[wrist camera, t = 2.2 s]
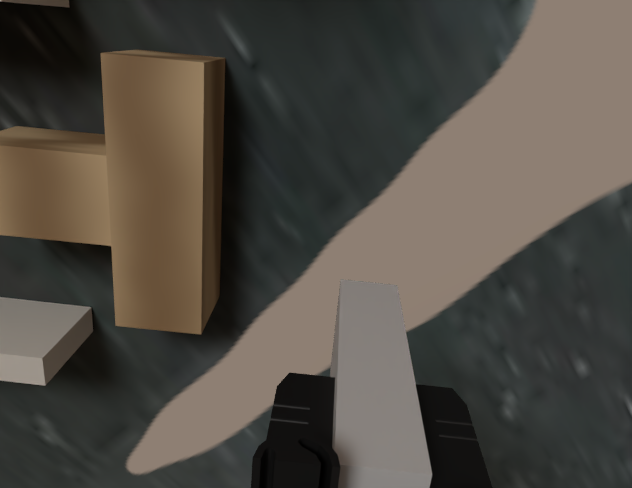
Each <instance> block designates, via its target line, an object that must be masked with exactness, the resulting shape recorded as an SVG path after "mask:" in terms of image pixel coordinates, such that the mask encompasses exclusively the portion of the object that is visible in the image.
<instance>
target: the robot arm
mask: <svg viewBox="0 0 632 488" xmlns="http://www.w3.org/2000/svg"><path fill="white" fill-rule="evenodd" d="M251 488H492V485H491V482H490V479H489V476H488V473H487V469H486V466H485V463H484V460H483V456H482V453H481V450H480V447H479V444H478V442H477V437H476V434H475V431H474V427H473V426H472V421H471V418H470V415H469V411H468V408H467V405H466V404H465V403H464V401H463V400H462V399H461V398H460V397H459V396H458V395H457V393H456V392H455V391H454V390H453V389H452V388H444V387H435V386H426V385H416V384H415V379H414V373H413V368H412V362H411V357H410V352H409V346H408V341H407V335H406V330H405V325H404V319H403V314H402V308H401V303H400V298H399V293H398V287H397V285H391V284H381V283H371V282H362V281H352V280H341V281H340V291H339V299H338V308H337V316H336V325H335V335H334V343H333V352H332V361H331V372H330V377H326V376H316V375H307V374H297V373H289V374H288V375H287V376H286V377H285V378H284V379H283V381H281V383H280V384H279V385H278V386H277V389H276V394H275V399H274V405H273V409H272V414H271V421H270V424H269V429H268V434H267V439H266V441H264V442H263V443H262V444H261V445H259V446H258V448H257V450H256V452H255V454H254V456H253V463H252V481H251Z"/></svg>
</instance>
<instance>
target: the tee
mask: <svg viewBox="0 0 632 488" xmlns="http://www.w3.org/2000/svg"><path fill="white" fill-rule="evenodd" d="M101 69H102V87H103V105H104V123H105V135H104V134H93V133H83V132H73V131H62V130H52V129H42V128H31V127H21V126H15V127H12V128H9V129H5V130H2V131H0V235H7V236H17V237H27V238H37V239H47V240H57V241H67V242H77V243H87V244H97V245H107V246H111V249H112V267H113V285H114V304H115V322H116V326H123V327H133V328H143V329H153V330H162V331H172V332H182V333H192V334H202V332H203V330H204V328H205V325H206V323H207V321H208V319H209V317H210V315H211V313H212V311H213V309H214V307H215V305H216V302H217V300H218V298H219V296H220V258H221V216H222V175H223V133H224V91H225V58H220V57H209V56H199V55H188V54H178V53H167V52H157V51H146V50H128V51H117V52H105V53H101Z"/></svg>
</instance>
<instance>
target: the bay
mask: <svg viewBox="0 0 632 488" xmlns="http://www.w3.org/2000/svg"><path fill="white" fill-rule="evenodd" d="M0 2H12V3H23V4H34V5H46V6H57V7H69V0H0ZM92 332H93V321H92V308H91V307H85V306H76V305H67V304H58V303H49V302H40V301H31V300H22V299H13V298H4V297H0V380H1V381H10V382H18V383H27V384H36V385H44V386H46V384H47V383H48V382H49V381H50V380H51V379H52V378H53V376H54V375H55V374H56V373H57V372H58V371H59V370H60V368H61V367H62V366H63V365H64V364H65V363H66V362H67V360H68V359H69V358H70V357H71V356H72V355H73V354H74V352H75V351H76V350H77V349H78V348H79V347H80V346H81V344H82V343H83V342H84V341H85V340H86V339H87V338H88V337H89V335H90V334H91V333H92Z"/></svg>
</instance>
